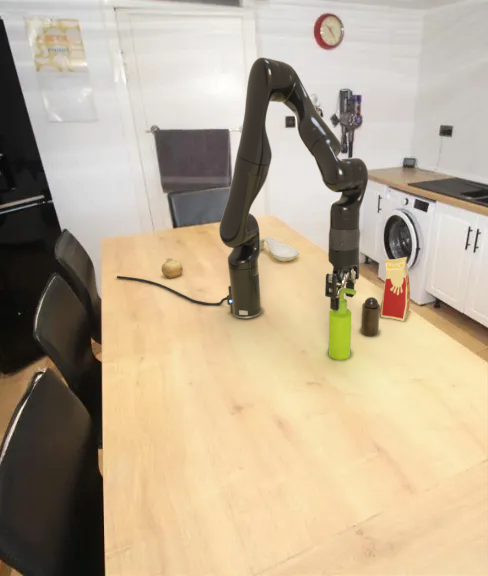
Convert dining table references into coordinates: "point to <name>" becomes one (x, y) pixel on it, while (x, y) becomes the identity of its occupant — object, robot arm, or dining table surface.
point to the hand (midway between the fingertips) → (342, 302)
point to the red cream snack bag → (396, 290)
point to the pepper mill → (370, 317)
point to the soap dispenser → (340, 328)
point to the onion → (171, 268)
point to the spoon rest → (280, 249)
